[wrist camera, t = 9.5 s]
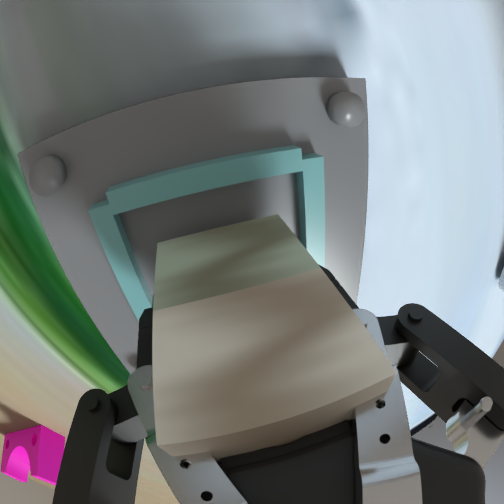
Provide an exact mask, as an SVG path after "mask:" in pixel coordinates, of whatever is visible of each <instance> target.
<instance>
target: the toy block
mask: <svg viewBox="0 0 504 504" xmlns="http://www.w3.org/2000/svg"><path fill="white" fill-rule="evenodd" d="M64 445H65V437H64V436H62V435H60V434H58V433H56V432H54V431H52V430H50V429H48V428H47V427H45V426H43V425H39V426H35V427H32V428H28V429H24V430H20V431H16V432H12V433H8V434H5V439H4V446H3V454H2V464H1V472H2V473H4V474H6V475H8V476H10V477H12V478H14V479H16V480H19V481H22V482H27V476H28V472H29V470H31V476H34V477H36V478H38V479H41V480H43V481H46V482H48V483H51V484H53V485H56V483H57V478H58V473H59V469H60V465H61V461H62V457H63V453H64Z"/></svg>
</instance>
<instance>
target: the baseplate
mask: <svg viewBox="0 0 504 504" xmlns="http://www.w3.org/2000/svg"><path fill="white" fill-rule="evenodd" d="M18 157H19V161H20V164H21V167H22V171H23V174H24V177H25V180H26V183H27V186H28V189H29V192H30V195H31V198H32V200H33V203H34V206H35V208H36V211H37V213H38V216H39V218H40V221H41V223H42V226H43V228H44V230H45V232H46V235H47V237H48V239H49V241H50V244H51V246H52V248H53V250H54V252H55V254H56V256H57V258H58V260H59V262H60V264H61V266H62V268H63V270H64V272H65V274H66V276H67V278H68V280H69V281H70V283H71V285H72V287H73V289H74V290H75V292H76V294H77V296H78V297H79V299H80V301H81V302H82V304H83V306H84V307H85V309H86V311H87V312H88V314H89V316H90V317H91V319H92V320H93V322H94V323H95V325H96V326H97V328H98V329H99V331H100V332H101V334H102V335H103V337H104V338H105V340H106V341H107V343H108V344H109V346H110V347H111V348H112V350H113V351H114V353H115V354H116V355H117V357H118V358H119V359H120V361H121V362H122V363H123V365H124V366H125V367H126V369H127V370H128V371H129V372H130V374H132V373H133V372H134V371H135V370H136V369H137V347H138V339H139V338H138V331H139V318H140V317H141V315H142V313H143V311H144V309H147V308H151V307H152V303H153V294H154V280H155V266H156V253H157V243H159V242H163V241H167V240H170V239H174V238H178V237H182V236H186V235H190V234H194V233H198V232H203V231H207V230H211V229H215V228H219V227H223V226H228V225H232V224H236V223H240V222H245V221H249V220H253V219H258V218H262V217H267V216H271V215H276V214H278V215H279V216H280V217H281V219H282V220H283V221H284V222H285V223H286V225H287V226H288V227H289V228H290V230H291V231H292V232H293V233H294V235H295V236H296V237H297V238H298V240H299V241H300V242H301V243H302V245H303V246H304V247H305V248H306V250H307V251H308V252H309V253H310V255H311V256H312V257H313V259H314V260H315V261H316V262H317V264H318V265H321V266H323V267H324V268H326V269H328V270H329V271H330V272H331V273H332V274H333V276H334V277H335V279H337V281H338V282H339V283H340V285H341V286H342V287H343V288H344V290H345V291H346V292H347V293H348V295H349V296H350V297H351V299H352V300H353V301H354V302H355V304H356V303H357V296H358V289H359V282H360V274H361V266H362V258H363V248H364V238H365V226H366V211H367V192H368V113H367V95H366V81H365V78H344V77H304V78H283V79H270V80H259V81H249V82H241V83H234V84H227V85H220V86H214V87H208V88H203V89H198V90H193V91H188V92H183V93H179V94H174V95H170V96H166V97H162V98H158V99H154V100H150V101H147V102H143V103H140V104H136V105H133V106H130V107H127V108H123V109H120V110H117V111H114V112H111V113H108V114H106V115H103V116H100V117H97V118H95V119H92V120H89V121H87V122H84V123H82V124H79V125H77V126H74V127H72V128H70V129H67V130H65V131H63V132H60V133H58V134H56V135H54V136H52V137H50V138H47V139H45V140H43V141H41V142H39V143H37V144H35V145H33V146H31V147H29V148H28V149H26V150H24V151H22V152H20V153H18Z"/></svg>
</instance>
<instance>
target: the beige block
mask: <svg viewBox="0 0 504 504" xmlns="http://www.w3.org/2000/svg"><path fill="white" fill-rule="evenodd" d="M152 370H153V399H154V416H155V430H156V441H157V446H158V447H160V448H161V449H163V450H164V451H165V452H167V453H168V454H169V455H171V456H172V457H173V456H182V455H189V454H196V453H202V452H208V451H209V452H210V453H211V454H212V455H213V456H214V457H215V458H216V460H217V461H218V463H219V462H221V458H223V457H229V456H233V455H238V454H242V453H247V452H251V451H255V450H259V449H263V448H266V447H283V446H288V445H290V444H291V443H293V442H295V441H296V440H298V439H300V438H301V437H303V436H305V435H308V434H311V433H314V432H316V431H319V430H322V429H324V428H327V427H330V426H332V425H335V424H337V423H339V422H342V421H344V420H347V421H348V423H350V422H352V417H351V415H352V412H353V410H354V408H355V406H358V405H360V404H362V403H364V402H366V401H368V400H371V399H373V398H375V397H377V396H379V395H381V394H383V393H385V392H387V391H388V389H389V387H390V386H391V384H392V382H393V380H394V378H395V376H396V374H397V372H396V370H395V369H394V367H393V366H392V364H391V363H390V361H389V360H388V359H387V357H386V356H385V354H384V353H383V351H382V350H381V349H380V347H379V346H378V344H377V343H376V342H375V340H374V339H373V337H372V336H371V335H370V333H369V332H368V330H367V329H366V328H365V326H364V325H363V323H362V322H361V321H360V319H359V318H358V317H357V315H356V314H355V312H354V311H353V310H352V308H351V307H350V306H349V304H348V303H347V302H346V300H345V299H344V298H343V296H342V295H341V294H340V292H339V291H338V290H337V288H336V287H335V286H334V284H333V283H332V282H331V281H330V279H329V278H328V277H327V275H326V274H325V273H324V271H323V270H322V269H321V268H320V266H319V265H318V264H317V262H316V261H315V260H314V259H313V257H312V256H311V255H310V253H309V252H308V251H307V250H306V248H305V247H304V246H303V245H302V243H301V242H300V241H299V240H298V238H297V237H296V236H295V235H294V233H293V232H292V231H291V230H290V228H289V227H288V226H287V225H286V223H285V222H284V221H283V220H282V219H281V217H280V216H279V215H278V214H276V215H271V216H267V217H262V218H258V219H253V220H249V221H245V222H240V223H236V224H232V225H228V226H223V227H219V228H215V229H211V230H207V231H203V232H198V233H194V234H190V235H186V236H182V237H178V238H174V239H170V240H167V241H163V242H159V243H157V253H156V266H155V280H154V299H153V329H152ZM190 466H191V465H189V466H188V467H190Z"/></svg>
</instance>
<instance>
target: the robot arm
mask: <svg viewBox="0 0 504 504" xmlns="http://www.w3.org/2000/svg"><path fill="white" fill-rule="evenodd" d="M319 266H320V268H321V269H322V270H323V271H324V273H325V274H326V275H327V277H328V278H329V279H330V281H331V282H332V283H333V284H334V286H335V287H336V288H337V290H338V291H339V292H340V294H341V295H342V296H343V298H344V299H345V300H346V302H347V303H348V304H349V306H350V307H351V308H352V310H353V311H354V312H355V314H356V315H357V317H358V318H359V319H360V321H361V322H362V323H363V325H364V326H365V328H366V329H367V330H368V332H369V333H370V335H371V336H372V337H373V339H374V340H375V342H376V343H377V344H378V346H379V347H380V349H381V350H382V351H383V353H384V354H385V356H386V357H387V359H388V360H389V361H390V363H391V364H392V366H393V367H394V369H395V370H396V372H397V374H396V376H395V378H394V380H393V382H392V384H391V386H390V387H389V389H388V391H387V392H385V393H383V394H381V395H379V396H377V397H375V398H373V399H371V400H368V401H366V402H364V403H362V404H360V405H358V406H355V408H354V410H353V412H352V415H351V417H352V422H350V423H348V421H347V420H344V421H342V422H339V423H337V424H335V425H332V426H330V427H327V428H324V429H322V430H319V431H316V432H314V433H311V434H308V435H305V436H303V437H301V438H300V439H298V440H296V441H295V442H293V443H291V444H290V445H288V446H283V447H266V448H263V449H259V450H255V451H251V452H247V453H242V454H238V455H233V456H229V457H223V458H221V462H219V463H218V461H217V460H216V458H215V457H214V456H213V455H212V454H211V453H210V452H209V451H208V452H202V453H196V454H189V455H182V456H173V457H172V456H171V455H169V454H168V453H167V452H165V451H164V450H163V449H161V448H160V447H158V446H157V441H156V430H155V416H154V399H153V370H152V329H153V303H152V307H151V308H147V309H144V311H143V313H142V315H141V317H140V318H139V331H138V338H139V339H138V347H137V369H136V370H135V371H134V372H133V373H132V374H131V375H130V377H129V379H128V384H127V385H126V386H124V387H123V388H121V389H119V390H116V391H114V392H112V393H110V394H107V393H106V392H105V391H103V390H101V389H92V390H89V391H87V392H86V393H85V394H83V396H82V397H81V398H80V400H79V403H78V406H77V409H76V412H75V415H74V418H73V421H72V425H71V428H70V431H69V435H68V438H67V442H66V445H65V449H64V453H63V457H62V461H61V465H60V469H59V473H58V478H57V483H56V487H55V493H54V498H53V504H134V503H135V495H136V487H137V480H138V474H139V467H140V461H141V455H142V449H143V443H144V438H145V439H146V443H147V446H148V448H149V450H150V452H151V454H152V456H153V458H154V460H155V462H156V464H157V466H158V468H159V469H160V471H161V473H162V475H163V477H164V478H165V480H166V482H167V484H168V485H169V487H170V489H171V490H172V492H173V494H174V495H175V497H176V499H177V500H178V502H179V503H180V504H485V475H484V471H483V468H484V467H485V465H486V464H487V463H488V461H489V460H490V458H491V457H492V456H493V454H494V453H495V451H496V449H497V448H498V446H499V445H500V443H501V442H502V440H503V438H504V369H503V368H502V367H501V366H500V365H499V364H498V363H496V362H495V361H494V360H493V359H492V358H490V357H489V356H488V355H487V354H485V353H484V352H483V351H482V350H480V349H479V348H478V347H477V346H475V345H474V344H473V343H471V342H470V341H469V340H468V339H466V338H465V337H464V336H462V335H461V334H460V333H459V332H457V331H456V330H455V329H453V328H452V327H451V326H449V325H448V324H447V323H445V322H444V321H443V320H441V319H440V318H439V317H437V316H436V315H435V314H433V313H432V312H430V311H429V310H428V309H426V308H425V307H423V306H421V305H419V304H414V303H411V304H406V305H404V306H402V307H401V308H400V309H399V312H398V315H395V316H385V317H376V316H375V315H374V314H373V313H372V312H370V311H368V310H365V309H359V308H358V306H357V305H356V304H355V302H354V301H353V300H352V299H351V297H350V296H349V295H348V293H347V292H346V291H345V290H344V288H343V287H342V286H341V285H340V283H339V282H338V281H337V279H335V277H334V276H333V274H332V273H331V272H330V271H329V270H328V269H326V268H324V267H323V266H321V265H319ZM499 287H500V289H502V290H503V291H504V268H503V270H502V273H501V276H500V279H499ZM153 299H154V294H153ZM419 351H420V352H421V353H422V354H421V353H420V352H419ZM423 354H424V355H425V356H426V357H427V358H428V359H427V358H426V357H425V356H424V355H423ZM429 359H430V360H431V361H432V362H433V363H434V364H433V363H432V362H431V361H430V360H429ZM435 364H436V365H437V366H438V367H437V366H436V365H435ZM400 381H401V382H402V383H403V384H404V385H405V386H406V387H407V388H409V389H410V390H411V391H412V392H413V393H414V394H415V395H416V396H417V397H418V398H419V399H421V400H422V401H423V402H424V403H425V404H426V405H427V406H428V407H429V408H430V409H431V410H432V411H434V412H435V413H436V414H437V415H438V416H439V417H440V418H441V419H442V420H443V421H444V422H445V423H447V424H446V438H447V439H448V440H449V441H452V443H453V446H454V452H453V451H450V450H447V449H443V448H440V447H437V446H434V445H432V444H428V443H425V442H423V441H420V440H417V439H415V438H412V437H411V435H410V428H409V422H408V417H407V411H406V406H405V401H404V396H403V391H402V387H401V382H400ZM189 465H191V466H190V467H188V466H189Z"/></svg>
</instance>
